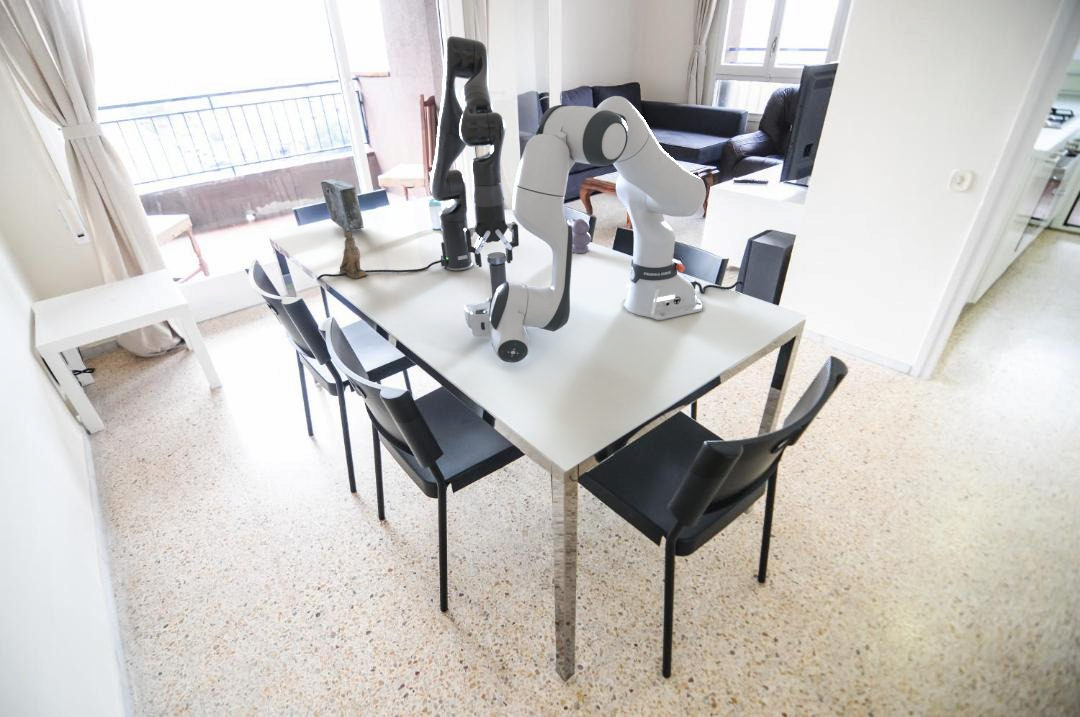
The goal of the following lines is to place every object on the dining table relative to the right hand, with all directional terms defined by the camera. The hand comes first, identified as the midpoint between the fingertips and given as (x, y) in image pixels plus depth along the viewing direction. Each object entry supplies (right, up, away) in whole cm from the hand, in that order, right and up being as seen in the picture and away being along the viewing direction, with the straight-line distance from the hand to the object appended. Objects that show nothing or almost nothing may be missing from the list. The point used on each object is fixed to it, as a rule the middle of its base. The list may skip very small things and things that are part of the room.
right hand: (499, 299), depth 139 cm
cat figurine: (+27, +25, +52) cm, 64 cm away
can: (-34, +42, +84) cm, 100 cm away
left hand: (-1, +9, -7) cm, 11 cm away
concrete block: (-76, +42, +87) cm, 123 cm away
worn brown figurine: (-56, +14, +39) cm, 70 cm away
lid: (0, +11, -8) cm, 13 cm away
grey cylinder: (0, -6, +3) cm, 7 cm away
